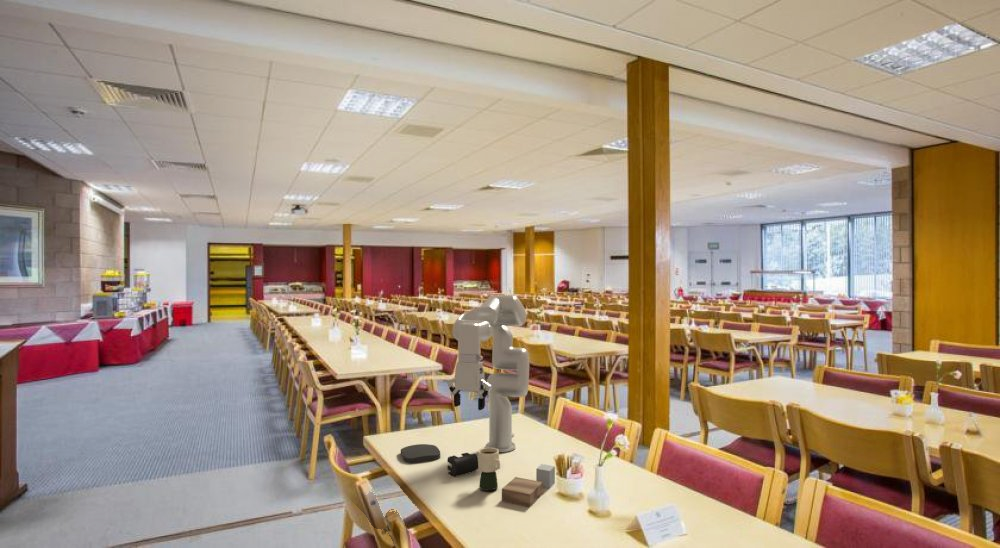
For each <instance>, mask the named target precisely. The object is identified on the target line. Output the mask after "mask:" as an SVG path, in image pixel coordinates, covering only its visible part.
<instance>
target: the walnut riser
mask: <svg viewBox="0 0 1000 548" xmlns="http://www.w3.org/2000/svg"><path fill="white" fill-rule="evenodd" d="M543 489H544V487H543V482H540V481H536V479H535V480H534V479H527V478H522V477H517V476H515V477H513V478H512V480H510V481H509V482H507V484H505V485H504V486H503V487H502V488H501V502H504V503H509V504H514V505H518V506H523V507H528V508H531V507H532V506H533V505H534V504H535V503H536V502H537V501H538V500H539V498H540V497H541V496H543V493H544V491H543Z"/></svg>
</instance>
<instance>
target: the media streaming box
mask: <svg viewBox="0 0 1000 548" xmlns="http://www.w3.org/2000/svg"><path fill="white" fill-rule="evenodd" d="M400 457H401V458H402V460H403V461H404V462H405V463H408V464H419V463H427V462H433V461H437V460H439V459H441V450H440V449H439V447H438V446H436V445H434V444H429V443H428V444H427V443H425V444H424V443H421V444H419V443H417V444H412V445H408V446H407V445H406V446H404V447H402V448H401V449H400Z"/></svg>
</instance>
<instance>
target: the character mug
mask: <svg viewBox="0 0 1000 548" xmlns="http://www.w3.org/2000/svg"><path fill="white" fill-rule="evenodd" d="M477 452H478V453H477V457H478V471H480V472H481V473H480V479H479V489H480V490H481V491H492V490H495V489H498V487H499V484H498V478H497V473H496V471H498V470H500V468H501V461H500V452H499V451H498V449H495V448H486V447H484V448H483V447H482V448H480V449H478V451H477Z"/></svg>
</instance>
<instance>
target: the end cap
mask: <svg viewBox="0 0 1000 548" xmlns="http://www.w3.org/2000/svg"><path fill="white" fill-rule="evenodd" d="M446 462H447V463H449V464H450V465H451V466H450V465H449V464H448V465H447V470H448V472H447V474H448V475H449V476H451V477H452V478H456V477H459V476H463V475H466V474H471V473H474V472H476V471H477V470H479V468H478V454H476V453H469V452H464V453H463V452H462V453H461V456H457V455H451V456H448V457H447V461H446Z"/></svg>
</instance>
